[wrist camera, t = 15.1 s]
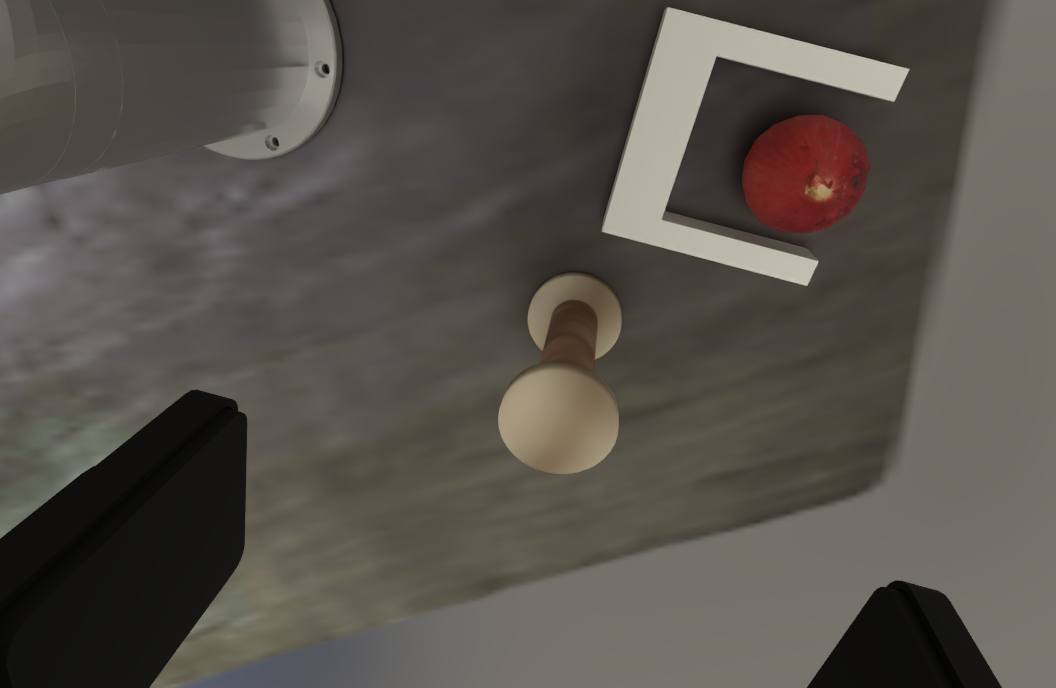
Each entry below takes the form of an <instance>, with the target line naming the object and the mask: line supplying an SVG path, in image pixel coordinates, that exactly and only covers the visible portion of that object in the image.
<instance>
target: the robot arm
mask: <svg viewBox="0 0 1056 688" xmlns="http://www.w3.org/2000/svg"><path fill="white" fill-rule="evenodd" d="M326 65H328V66H329V70H330V72H329V74H328V73H327V72H326V71H325V66H326ZM342 67H343V65H342V43H341V39H340V34H339V29H338V24H337V20H336V17H335V14H334V12H333V9H332V6H331V4H330V1H329V0H0V194H4V193H8V192H11V191H15V190H19V189H23V188H27V187H31V186H35V185H39V184H43V183H47V182H51V181H56V180H60V179H66V178H71V177H75V176H79V175H83V174H87V173H91V172H96V171H100V170H104V169H108V168H112V167H116V166H121V165H125V164H129V163H133V162H137V161H142V160H146V159H150V158H154V157H158V156H162V155H167V154H171V153H175V152H179V151H183V150H187V149H192V148H196V147H200V146H203V147H205V148H207V149H209V150H211V151H214V152H216V153H219V154H222V155H225V156H227V157H232V158H238V159H244V160H261V159H269V158H273V157H276V156H280V155H283V154H286V153H288V152H291V151H293V150H296V149H298V148H299V147H301V146H302V145H304V144H305V143H306V142H308V141H309V140H311V139H312V138H313V137H314V136H315V135H316V133H317V132H318V131H319V130H320V129H321V128H322V127H323V126H324V124H325V122H326V121H327V119H328V117H329V115H330V114H331V112H332V110H333V108H334V105H335V102H336V99H337V96H338V93H339V90H340V83H341V75H342ZM276 138H277V140H278V142H279V145H278V144H277V142H276ZM246 454H247V417H246V415H245V414H244V413H242V412H238V405H237V403H236V401H234V400H232V399H229V398H226V397H222V396H218V395H214V394H211V393H207V392H203V391H200V390H191V391H189V392H188V393H186V394H185V395H183V396H182V397H181V398H180V399H178V400H177V401H176V402H175V403H173V404H172V405H171V406H170V407H168V408H167V409H166V410H165V411H163V412H162V413H161V414H160V415H158V416H157V417H156V418H155V419H153V420H152V421H151V422H150V423H148V424H147V425H146V426H145V427H143V428H142V429H141V430H140V431H138V432H137V433H136V434H135V435H133V436H132V437H131V438H130V439H128V440H127V441H126V442H125V443H123V444H122V445H121V446H120V447H119V448H117V449H116V450H115V451H114V452H112V453H111V454H110V455H109V456H107V457H106V458H105V459H104V460H102V461H101V462H100V463H99V464H97V465H96V466H93V467H92V468H90V469H89V470H87V471H85V472H84V473H82V474H81V475H80V476H78V477H77V478H76V479H75V480H73V481H72V482H71V483H70V484H68V485H67V486H66V487H65V488H63V489H62V490H61V491H60V492H58V493H57V494H56V495H55V496H53V497H52V498H51V499H49V500H48V501H47V502H46V503H44V504H43V505H42V506H41V507H39V508H38V509H37V510H36V511H34V512H33V513H32V514H31V515H29V516H28V517H27V518H26V519H24V520H23V521H22V522H21V523H19V524H18V525H17V526H16V527H14V528H13V529H12V530H11V531H9V532H8V533H7V534H6V535H4V536H3V537H2V538H1V539H0V688H149V687H150V686H151V684H152V683H153V682H154V680H155V679H156V678H157V676H158V675H159V674H160V672H161V671H162V669H163V668H164V667H165V665H166V664H167V663H168V661H169V660H170V658H171V657H172V656H173V654H174V653H175V652H176V650H177V649H178V648H179V646H180V645H181V643H182V642H183V641H184V639H185V638H186V637H187V635H188V634H189V633H190V631H191V630H192V628H193V627H194V626H195V624H196V623H197V622H198V620H199V619H200V617H201V616H202V615H203V613H204V612H205V611H206V609H207V608H208V607H209V605H210V604H211V602H212V601H213V600H214V598H215V597H216V596H217V594H218V593H219V591H220V590H221V589H222V587H223V586H224V585H225V583H226V582H227V581H228V579H229V578H230V576H231V575H232V574H233V572H234V571H235V569H236V568H237V566H238V564H239V562H240V560H241V557H242V554H243V551H244V544H245V500H246ZM807 688H1002V687H1001V685H1000V684H999V682H998V680H997V679H996V677H995V675H994V674H993V672H992V670H991V669H990V667H989V665H988V664H987V662H986V660H985V659H984V657H983V655H982V654H981V652H980V651H979V649H978V647H977V646H976V644H975V642H974V641H973V639H972V637H971V635H970V634H969V632H968V630H967V629H966V627H965V625H964V624H963V622H962V620H961V619H960V617H959V615H958V614H957V612H956V610H955V609H954V607H953V605H952V604H951V602H950V601H949V599H948V598H947V597H946V596H945V595H944V594H943V593H941V592H939V591H937V590H933V589H929V588H926V587H922V586H918V585H915V584H911V583H907V582H904V581H894V582H891V583H890V584H889V585H888V586H887V587H880V588H878V589H877V590H876V591H874V593H873V594H872V595H871V597H870V598H869V600H868V601H867V603H866V604H865V605H864V607H863V608H862V610H861V611H860V613H859V614H858V615H857V617H856V619H855V620H854V621H853V623H852V624H851V625H850V627H849V628H848V630H847V631H846V633H845V634H844V635H843V637H842V638H841V640H840V641H839V643H838V644H837V646H836V647H835V648H834V650H833V651H832V653H831V654H830V655H829V657H828V658H827V660H826V661H825V663H824V664H823V665H822V667H821V668H820V670H819V671H818V673H817V674H816V676H815V677H814V678H813V680H812V681H811V683H810V684H809V685H808V687H807Z"/></svg>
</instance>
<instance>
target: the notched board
mask: <svg viewBox="0 0 1056 688" xmlns="http://www.w3.org/2000/svg"><path fill="white" fill-rule="evenodd" d="M716 57H719V58H723V59H726V60H730V61H734V62H738V63H742V64H746V65H750V66H754V67H757V68H761V69H765V70H769V71H773V72H777V73H781V74H785V75H788V76H792V77H796V78H800V79H804V80H808V81H812V82H816V83H819V84H823V85H827V86H831V87H835V88H839V89H843V90H847V91H850V92H854V93H858V94H862V95H866V96H870V97H874V98H878V99H883V100H888V101H893V102H894V101H895V99H896V97H897V95H898V92H899V90H900V88H901V86H902V84H903V82H904V80H905V78H906V76H907V73H908V71H909V69H907V68H903V67H899V66H895V65H891V64H887V63H883V62H879V61H876V60H872V59H868V58H864V57H860V56H856V55H852V54H848V53H844V52H841V51H837V50H833V49H829V48H825V47H821V46H817V45H813V44H809V43H806V42H802V41H798V40H794V39H790V38H786V37H782V36H778V35H774V34H771V33H767V32H763V31H759V30H755V29H751V28H747V27H743V26H739V25H736V24H732V23H728V22H724V21H720V20H716V19H712V18H708V17H704V16H701V15H697V14H693V13H689V12H685V11H681V10H677V9H673V8H669V7H667V8H666V9H665V10H664V13H663V16H662V19H661V23H660V26H659V30H658V33H657V37H656V40H655V43H654V47H653V50H652V54H651V57H650V61H649V64H648V67H647V71H646V74H645V78H644V81H643V85H642V88H641V91H640V95H639V98H638V102H637V105H636V109H635V112H634V115H633V119H632V122H631V126H630V129H629V133H628V136H627V139H626V143H625V146H624V150H623V153H622V157H621V160H620V163H619V167H618V170H617V174H616V177H615V181H614V184H613V187H612V191H611V194H610V198H609V201H608V205H607V208H606V211H605V215H604V218H603V225H602V232H605V233H609V234H613V235H616V236H620V237H624V238H628V239H632V240H635V241H639V242H643V243H647V244H651V245H654V246H658V247H662V248H666V249H669V250H673V251H677V252H681V253H685V254H688V255H692V256H696V257H700V258H704V259H707V260H711V261H715V262H719V263H723V264H726V265H730V266H734V267H738V268H741V269H745V270H749V271H753V272H757V273H760V274H764V275H768V276H772V277H776V278H779V279H783V280H787V281H791V282H795V283H798V284H802V285H806V286H807V285H808V283H809V281H810V279H811V277H812V275H813V272H814V270H815V268H816V266H817V264H818V262H819V261H818V260H817V259H816V258H815V257H814V256H813V255H812V254H811V252H810V251H809V250H808V249H807V248H804V247H800V246H796V245H793V244H789V243H785V242H781V241H777V240H774V239H770V238H766V237H762V236H758V235H755V234H751V233H747V232H743V231H739V230H736V229H732V228H728V227H724V226H720V225H717V224H713V223H709V222H705V221H701V220H698V219H694V218H690V217H686V216H682V215H679V214H675V213H671V212H667V211H665V208H666V205H667V202H668V199H669V196H670V193H671V190H672V187H673V184H674V181H675V178H676V175H677V172H678V169H679V166H680V163H681V160H682V157H683V154H684V151H685V149H686V146H687V143H688V140H689V137H690V134H691V131H692V128H693V125H694V122H695V119H696V116H697V113H698V110H699V107H700V104H701V101H702V98H703V95H704V92H705V89H706V86H707V83H708V80H709V77H710V74H711V71H712V68H713V65H714V62H715V59H716Z"/></svg>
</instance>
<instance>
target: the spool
mask: <svg viewBox="0 0 1056 688" xmlns="http://www.w3.org/2000/svg"><path fill="white" fill-rule="evenodd" d="M621 324H622V314H621V306H620V303H619V300H618V298H617V296H616V294H615V293H614V291H613V290H612V289H611V287H610V286H609V285H608V284H606V283H605V282H604V281H603V280H601V279H599V278H598V277H595V276H593V275H590V274H587V273H582V272H567V273H562V274H559V275H556V276H554V277H552V278H550V279H549V280H547V281H546V282H544V283H543V284H542V285H541V286H540V287H539V288H538V290H537V291H536V293H535V294H534V296H533V298H532V301H531V304H530V307H529V311H528V327H529V331H530V334H531V336H532V338H533V340H534V342H535V343H536V345H537V346H538V347H539V348H540V349H541V350H542V351H543V352H542V356H541V360H540V364H537V365H534V366H532V367H530V368H528V369H526V370H524V371H522V372H521V373H520V374H519V375H517V376H516V377H515V378H514V379H513V380H512V382H511V383H510V384H509V386H508V387H507V389H506V391H505V394H504V397H503V400H502V403H501V406H500V409H499V415H498V424H499V430H500V433H501V436H502V438H503V441H504V442H505V444H506V446H507V447H508V449H509V450H510V451H511V452H512V453H513V454H514V455H515V456H516V457H517V458H518V459H519V460H521V461H522V462H524V463H525V464H527V465H529V466H531V467H533V468H535V469H538V470H541V471H544V472H548V473H555V474H569V473H576V472H580V471H583V470H586V469H589V468H591V467H593V466H595V465H596V464H598V463H599V462H601V461H602V460H603V459H604V458H605V457H606V456H607V455H608V454H609V453H610V451H611V450H612V448H613V446H614V444H615V442H616V439H617V435H618V428H619V414H618V405H617V401H616V399H615V396H614V394H613V392H612V390H611V389H610V387H609V386H608V385H607V383H606V382H605V381H604V380H603V379H602V378H600V377H599V376H598V375H597V374H595V373H594V367H595V359H597V358H599V357H601V356H603V355H604V354H605V353H607V352H608V351H609V350H610V349H611V348H612V347H613V345H614V344H615V342H616V341H617V339H618V337H619V334H620V331H621Z"/></svg>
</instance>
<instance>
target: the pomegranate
mask: <svg viewBox="0 0 1056 688" xmlns="http://www.w3.org/2000/svg"><path fill="white" fill-rule="evenodd" d="M869 168H870V167H869V163H868V159H867V155H866V151H865V147H864V143H863V142H862V141H861V139H860V138H859V137H858V136H857V135H856V134H855V133H854V132H853V131H852V130H851V129H850V127H849V126H848V125H846V124H843V123H841V122H838V121H836V120H834V119H831V118H829V117H827V116H824V115H798V116H795V117H792V118H790V119H787V120H784V121H782V122H779V123H776V124H774V125H772V126H771V127H770V128H769V129H768V130H766V131H765V132H764V133H763V134H762V135H760V136H759V137H758V138H757V139H756V140H755V141H754V143H753V145H752V147H751V149H750V150H749V152H748V154H747V156H746V158H745V160H744V167H743V173H742V186H743V191H744V195H745V200H746V204H747V206H748V207H749V208H750V209H751V211H752V212H753V213H754V215H755V216H756V217H757V218H758V220H759V221H761V222H762V223H763V224H766V225H768V226H770V227H772V228H774V229H777V230H779V231H781V232H786V233H802V234H806V233H810V232H814V231H818V230H822V229H826V228H828V227H830V226H832V225H833V224H835V223H836V222H838V221H839V220H841V219H842V218H844V217H846V216H847V215H848V214H849V213H850V212H851V210H852V209H853V207H854V206H855V205H856V203H857V202H858V200H859V199H860V198H861V196H862V195H863V192H864V188H865V184H866V180H867V176H868V172H869Z"/></svg>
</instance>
